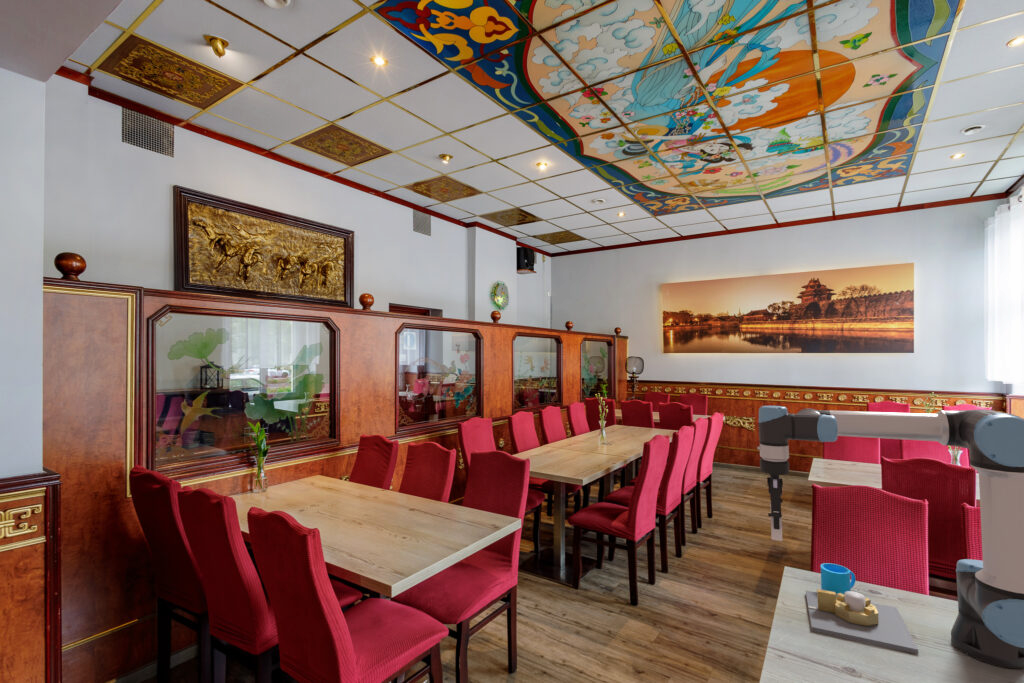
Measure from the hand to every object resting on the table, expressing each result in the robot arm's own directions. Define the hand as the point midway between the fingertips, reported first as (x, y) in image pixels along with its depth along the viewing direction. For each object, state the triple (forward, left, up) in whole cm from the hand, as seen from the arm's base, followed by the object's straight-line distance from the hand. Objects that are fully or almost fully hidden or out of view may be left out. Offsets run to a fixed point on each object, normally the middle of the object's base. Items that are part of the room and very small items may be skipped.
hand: (776, 532), depth 140 cm
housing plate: (-20, -15, -28) cm, 38 cm away
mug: (-18, -34, -28) cm, 48 cm away
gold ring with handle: (-18, -15, -26) cm, 36 cm away
